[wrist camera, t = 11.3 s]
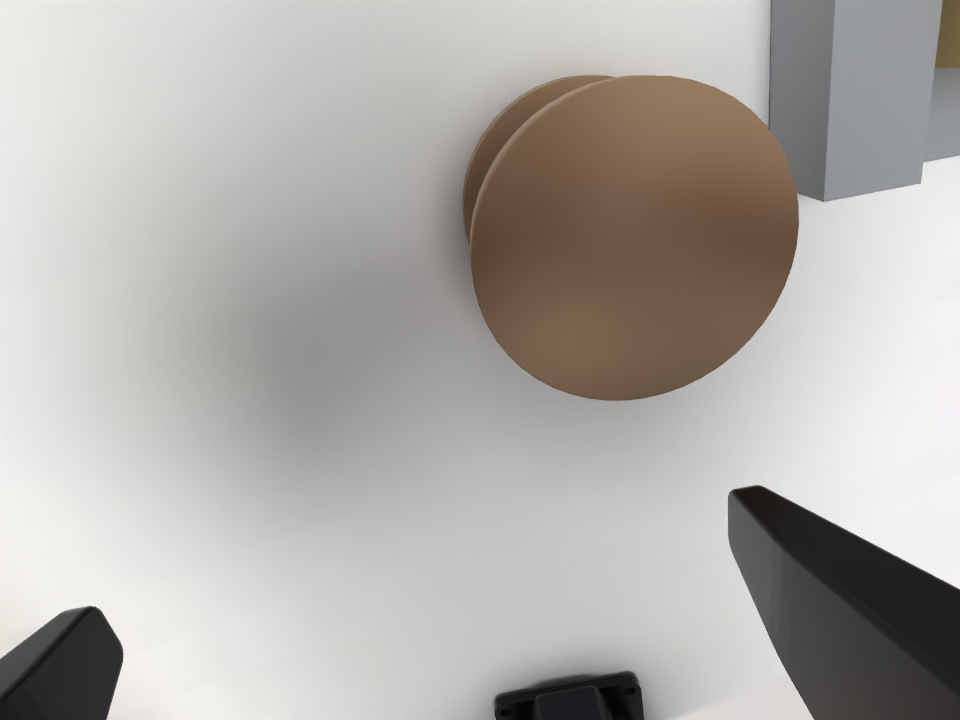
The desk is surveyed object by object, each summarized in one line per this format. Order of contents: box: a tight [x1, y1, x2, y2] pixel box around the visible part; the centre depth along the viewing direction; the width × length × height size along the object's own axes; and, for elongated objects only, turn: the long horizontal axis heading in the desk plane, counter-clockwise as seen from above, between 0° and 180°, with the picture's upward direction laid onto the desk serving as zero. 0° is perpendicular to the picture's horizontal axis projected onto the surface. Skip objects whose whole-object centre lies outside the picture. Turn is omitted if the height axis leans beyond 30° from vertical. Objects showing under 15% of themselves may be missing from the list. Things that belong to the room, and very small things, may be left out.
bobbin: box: [463, 76, 799, 401], centre depth 16 cm, size 7×7×6 cm
